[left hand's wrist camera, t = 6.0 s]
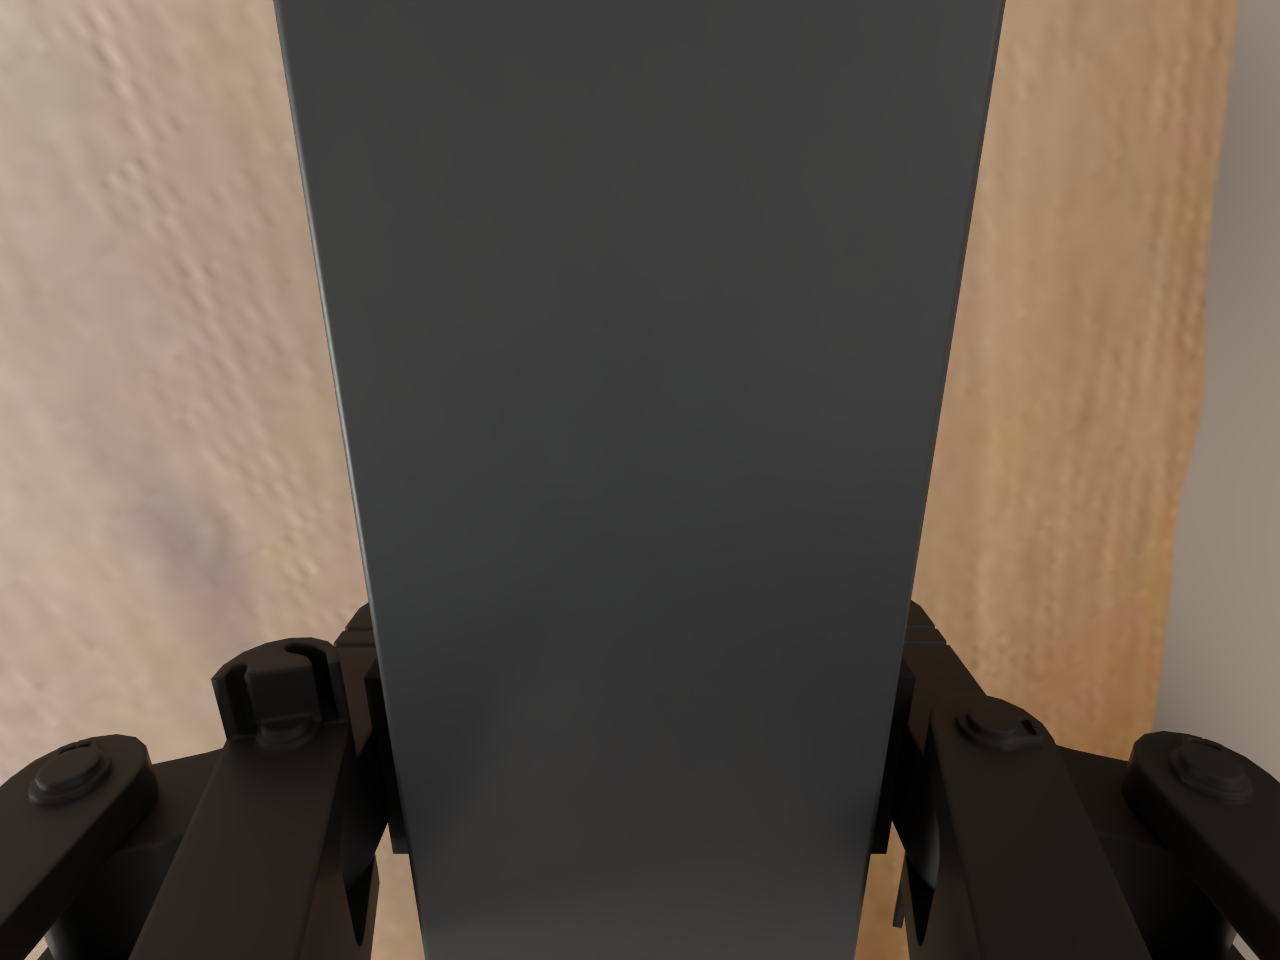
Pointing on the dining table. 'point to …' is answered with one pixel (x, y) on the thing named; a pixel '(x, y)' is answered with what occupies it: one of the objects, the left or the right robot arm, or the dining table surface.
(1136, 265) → the dining table surface
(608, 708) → the bar
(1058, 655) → the dining table surface
